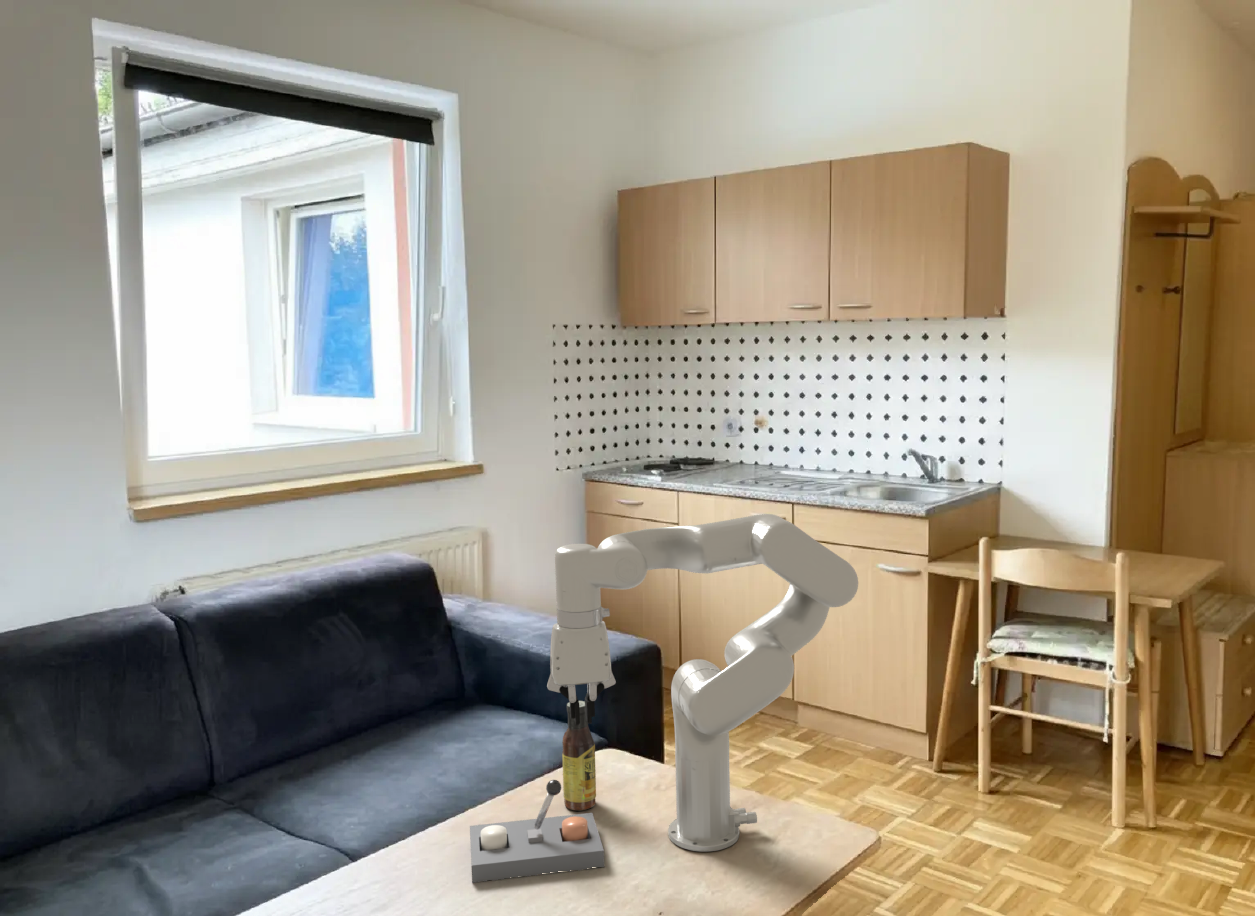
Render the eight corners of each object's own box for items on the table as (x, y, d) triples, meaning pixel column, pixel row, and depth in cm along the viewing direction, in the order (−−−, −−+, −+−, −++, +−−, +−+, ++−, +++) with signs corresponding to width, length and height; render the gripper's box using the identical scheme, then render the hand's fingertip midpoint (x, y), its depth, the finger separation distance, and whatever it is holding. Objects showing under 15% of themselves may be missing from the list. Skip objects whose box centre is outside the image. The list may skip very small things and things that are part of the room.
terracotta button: (586, 834, 177) (585, 815, 177) (589, 846, 173) (588, 826, 173) (561, 836, 177) (560, 818, 176) (564, 849, 172) (563, 829, 172)
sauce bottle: (592, 813, 188) (588, 711, 186) (560, 811, 190) (556, 709, 187) (600, 798, 195) (596, 699, 192) (568, 796, 196) (565, 697, 194)
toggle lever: (542, 827, 175) (562, 779, 175) (543, 835, 172) (564, 786, 172) (528, 823, 174) (549, 775, 174) (529, 830, 172) (550, 781, 172)
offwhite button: (506, 843, 175) (505, 823, 175) (508, 855, 171) (507, 835, 170) (481, 845, 174) (480, 826, 174) (481, 858, 170) (481, 838, 170)
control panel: (592, 828, 183) (592, 808, 182) (604, 867, 169) (603, 845, 168) (470, 841, 179) (469, 821, 178) (472, 882, 165) (471, 860, 165)
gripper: (620, 608, 176) (623, 709, 178) (531, 614, 173) (535, 717, 175) (628, 619, 168) (631, 725, 170) (535, 626, 166) (539, 734, 168)
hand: (582, 720), depth 173 cm, fingers closed
